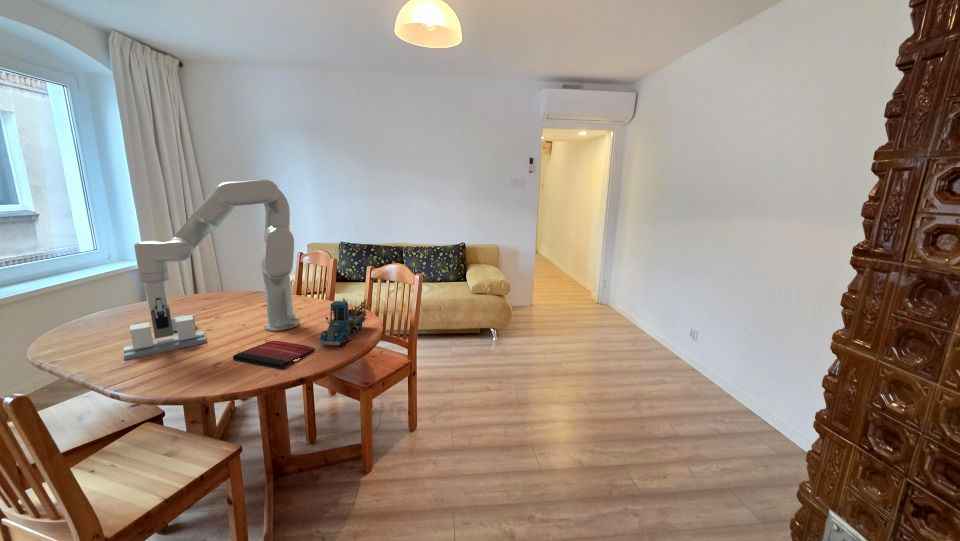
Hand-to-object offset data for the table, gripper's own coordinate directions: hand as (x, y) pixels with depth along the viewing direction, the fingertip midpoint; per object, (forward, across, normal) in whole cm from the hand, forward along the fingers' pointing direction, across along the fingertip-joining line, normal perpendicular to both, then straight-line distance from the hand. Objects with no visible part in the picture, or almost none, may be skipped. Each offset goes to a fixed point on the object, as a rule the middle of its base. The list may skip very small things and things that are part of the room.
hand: (162, 324), depth 130 cm
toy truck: (+8, +32, +53) cm, 62 cm away
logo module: (+4, 0, 0) cm, 4 cm away
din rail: (+7, 0, 0) cm, 7 cm away
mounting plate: (+8, 0, 0) cm, 8 cm away
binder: (+9, +32, +28) cm, 44 cm away
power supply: (+8, -17, +6) cm, 20 cm away
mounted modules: (+6, 0, 0) cm, 6 cm away
